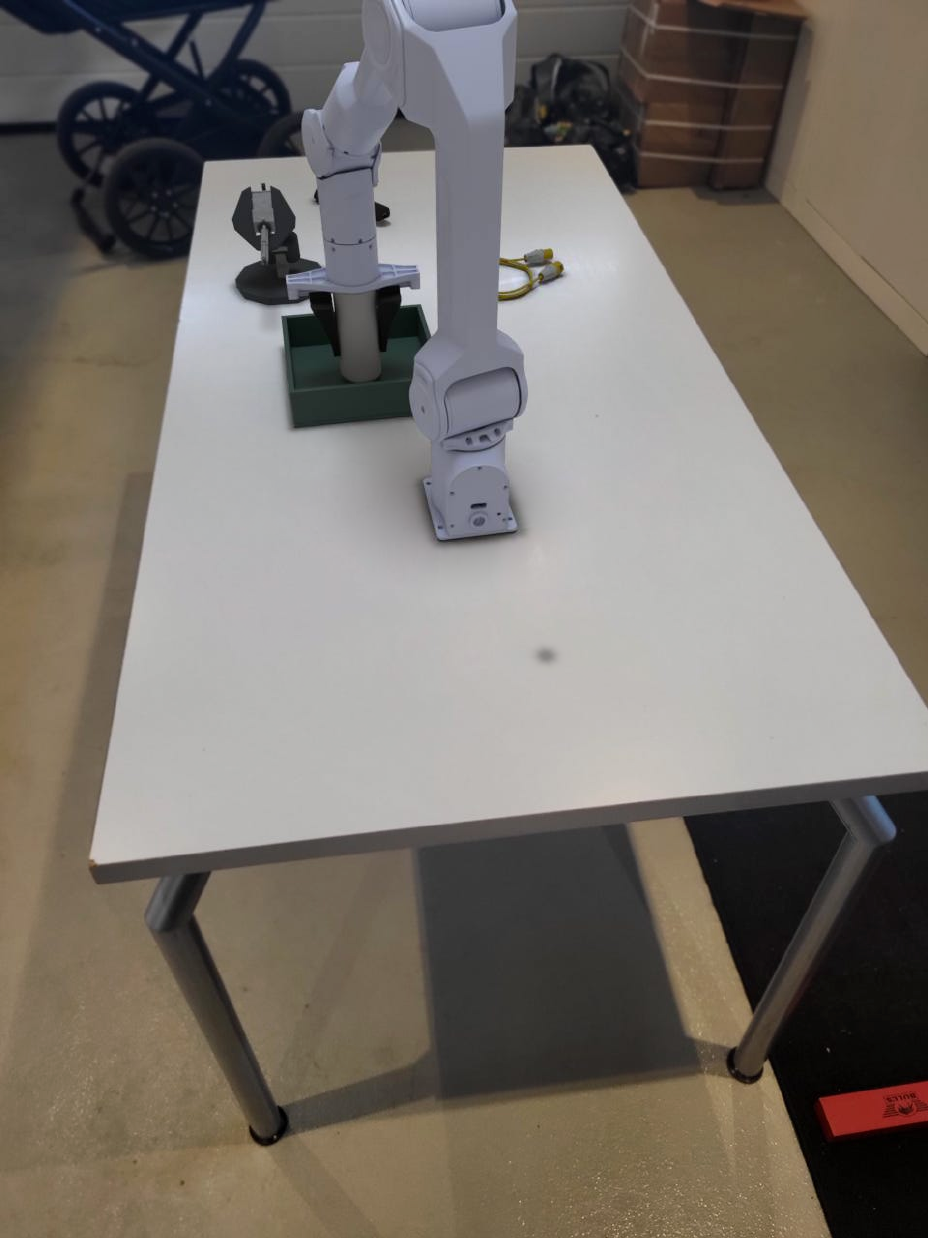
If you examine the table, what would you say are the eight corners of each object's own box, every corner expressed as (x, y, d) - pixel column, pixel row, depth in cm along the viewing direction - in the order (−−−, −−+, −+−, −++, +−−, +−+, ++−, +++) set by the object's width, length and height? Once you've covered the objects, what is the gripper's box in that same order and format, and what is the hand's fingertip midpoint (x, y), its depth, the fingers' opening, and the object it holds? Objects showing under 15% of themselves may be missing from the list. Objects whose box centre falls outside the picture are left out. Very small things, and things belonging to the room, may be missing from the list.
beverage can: (375, 388, 104) (368, 290, 95) (336, 383, 104) (325, 286, 96) (386, 367, 107) (380, 270, 98) (348, 362, 108) (338, 266, 99)
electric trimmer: (378, 231, 135) (377, 210, 132) (312, 201, 142) (310, 180, 139) (396, 224, 137) (395, 203, 134) (330, 194, 144) (328, 174, 141)
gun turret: (234, 333, 113) (213, 232, 104) (237, 263, 127) (219, 168, 117) (332, 326, 115) (321, 226, 105) (325, 257, 128) (315, 163, 119)
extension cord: (569, 299, 120) (571, 285, 119) (454, 301, 119) (454, 287, 118) (558, 258, 128) (559, 245, 127) (450, 260, 128) (450, 247, 126)
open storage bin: (445, 411, 101) (444, 377, 98) (294, 427, 99) (289, 392, 96) (421, 336, 113) (420, 303, 110) (286, 349, 111) (281, 315, 107)
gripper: (411, 212, 97) (415, 327, 107) (278, 222, 95) (295, 338, 105) (421, 240, 92) (425, 357, 102) (281, 251, 90) (298, 369, 100)
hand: (359, 349), depth 103 cm, fingers closed on beverage can, 5 cm apart
